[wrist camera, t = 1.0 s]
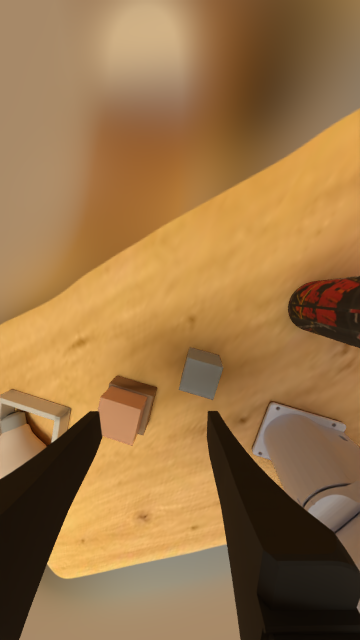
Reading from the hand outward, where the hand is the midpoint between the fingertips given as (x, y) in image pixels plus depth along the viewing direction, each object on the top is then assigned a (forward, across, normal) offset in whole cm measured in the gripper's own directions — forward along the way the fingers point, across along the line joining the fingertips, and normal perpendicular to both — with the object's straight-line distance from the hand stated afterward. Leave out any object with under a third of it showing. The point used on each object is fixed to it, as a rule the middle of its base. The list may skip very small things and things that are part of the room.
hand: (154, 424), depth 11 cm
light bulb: (+14, +22, +15) cm, 30 cm away
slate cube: (+12, -4, +2) cm, 13 cm away
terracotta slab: (+10, +6, +7) cm, 14 cm away
